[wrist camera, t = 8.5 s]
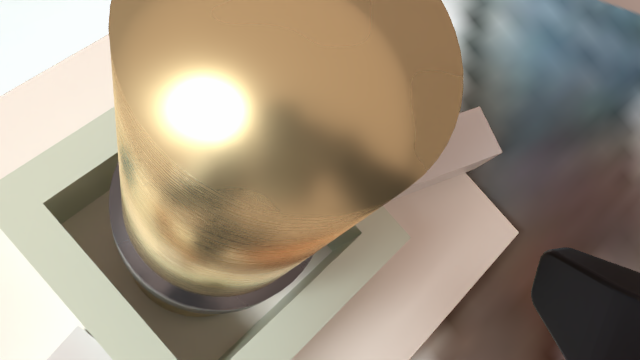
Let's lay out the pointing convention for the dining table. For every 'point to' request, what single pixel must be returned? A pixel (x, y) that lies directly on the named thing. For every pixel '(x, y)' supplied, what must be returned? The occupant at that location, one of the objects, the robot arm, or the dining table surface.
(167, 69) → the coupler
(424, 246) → the shaft mount
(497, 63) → the dining table surface
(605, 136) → the dining table surface
